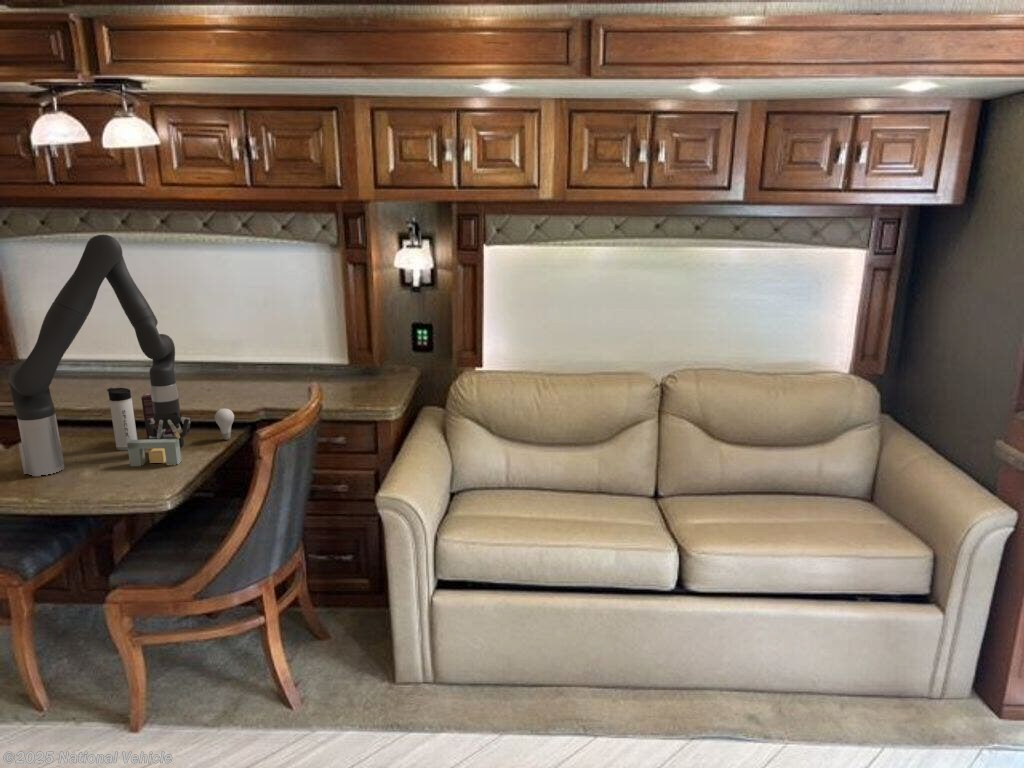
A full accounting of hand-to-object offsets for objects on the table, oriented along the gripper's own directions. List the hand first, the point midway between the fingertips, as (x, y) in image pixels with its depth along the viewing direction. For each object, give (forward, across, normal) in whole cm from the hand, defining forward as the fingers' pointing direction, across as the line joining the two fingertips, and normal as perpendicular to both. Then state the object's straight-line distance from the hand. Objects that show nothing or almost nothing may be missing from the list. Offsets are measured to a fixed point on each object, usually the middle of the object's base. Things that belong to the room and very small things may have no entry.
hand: (171, 448), depth 219 cm
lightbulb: (+1, -14, -11) cm, 17 cm away
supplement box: (+1, +8, -13) cm, 15 cm away
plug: (+1, 0, +5) cm, 5 cm away
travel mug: (+1, +16, -4) cm, 17 cm away
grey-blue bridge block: (+1, 0, +11) cm, 11 cm away
